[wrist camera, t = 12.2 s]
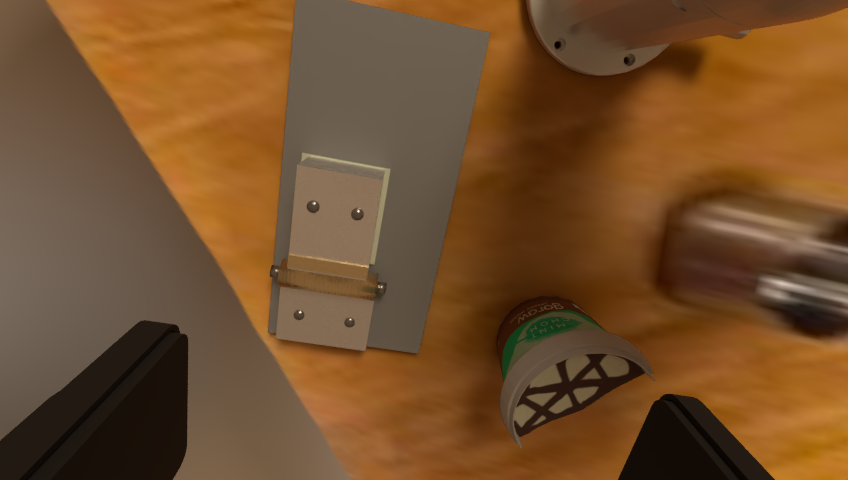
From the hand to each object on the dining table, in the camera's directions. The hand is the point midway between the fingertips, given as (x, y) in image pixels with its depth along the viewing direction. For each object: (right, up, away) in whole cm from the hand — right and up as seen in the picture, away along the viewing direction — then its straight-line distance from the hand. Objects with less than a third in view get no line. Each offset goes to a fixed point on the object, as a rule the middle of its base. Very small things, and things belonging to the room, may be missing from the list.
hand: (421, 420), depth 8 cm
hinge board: (-5, +7, +27) cm, 29 cm away
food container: (+10, -4, +32) cm, 34 cm away
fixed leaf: (-8, -2, +29) cm, 31 cm away
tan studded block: (-7, +6, +26) cm, 28 cm away
